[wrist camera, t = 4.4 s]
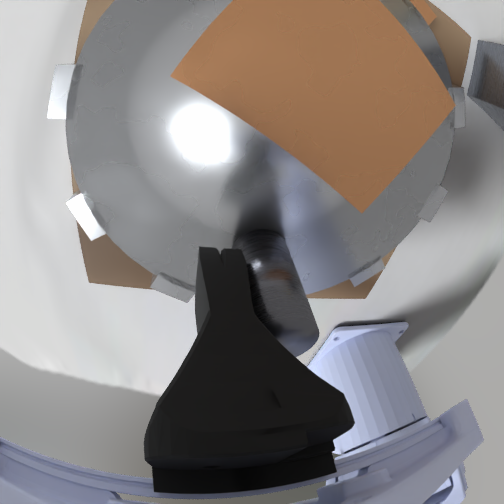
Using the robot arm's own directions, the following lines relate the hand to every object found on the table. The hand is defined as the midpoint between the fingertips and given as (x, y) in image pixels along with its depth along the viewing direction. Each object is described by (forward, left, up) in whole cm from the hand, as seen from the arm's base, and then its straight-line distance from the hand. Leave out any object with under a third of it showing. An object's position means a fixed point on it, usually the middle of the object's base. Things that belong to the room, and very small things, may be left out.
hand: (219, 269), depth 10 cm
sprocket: (+5, -2, -3) cm, 6 cm away
